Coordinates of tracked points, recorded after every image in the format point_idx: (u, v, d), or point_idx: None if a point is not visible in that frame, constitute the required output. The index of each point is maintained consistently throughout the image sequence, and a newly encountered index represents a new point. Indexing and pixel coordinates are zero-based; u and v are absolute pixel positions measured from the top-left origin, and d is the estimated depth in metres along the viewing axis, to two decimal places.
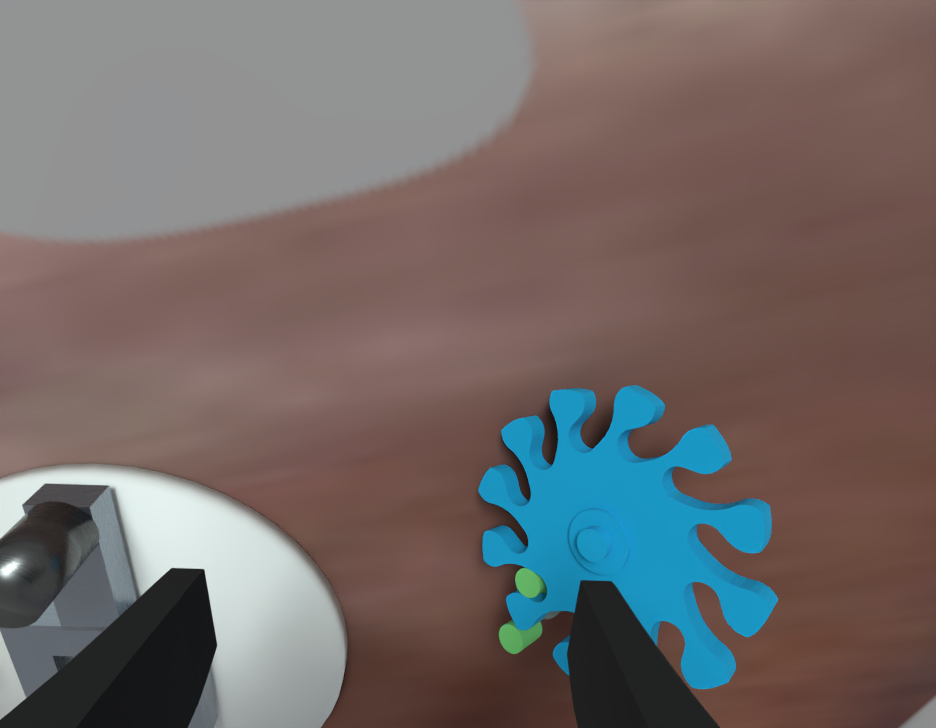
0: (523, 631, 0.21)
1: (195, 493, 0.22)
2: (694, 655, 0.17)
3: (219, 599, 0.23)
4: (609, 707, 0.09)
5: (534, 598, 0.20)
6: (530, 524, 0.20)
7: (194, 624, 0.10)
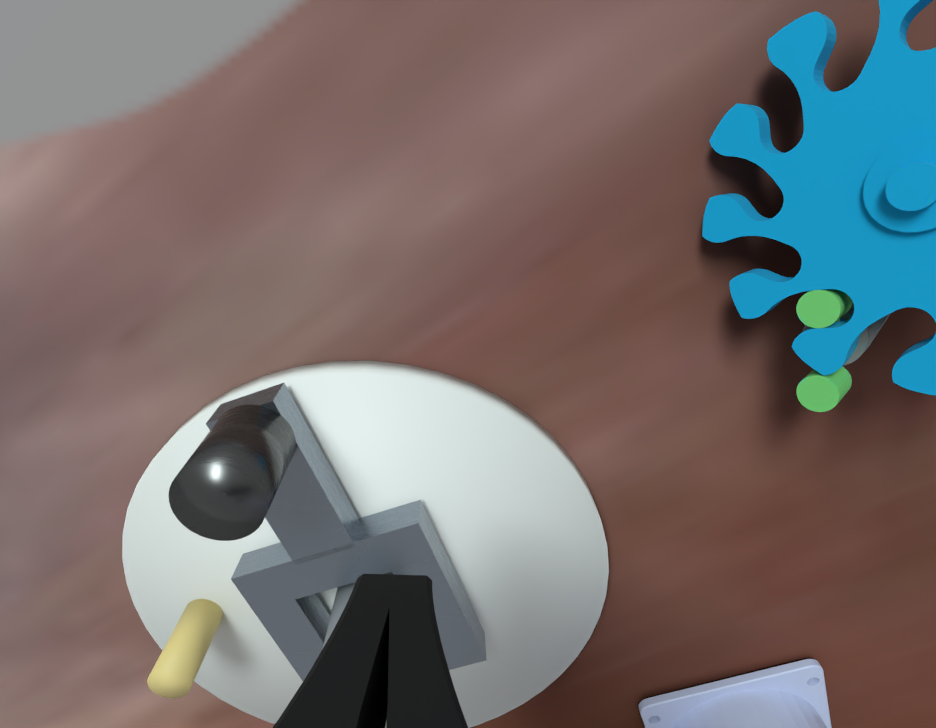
0: (832, 376, 0.16)
1: (374, 368, 0.19)
2: None
3: (441, 489, 0.20)
4: None
5: (834, 326, 0.15)
6: (796, 231, 0.15)
7: None
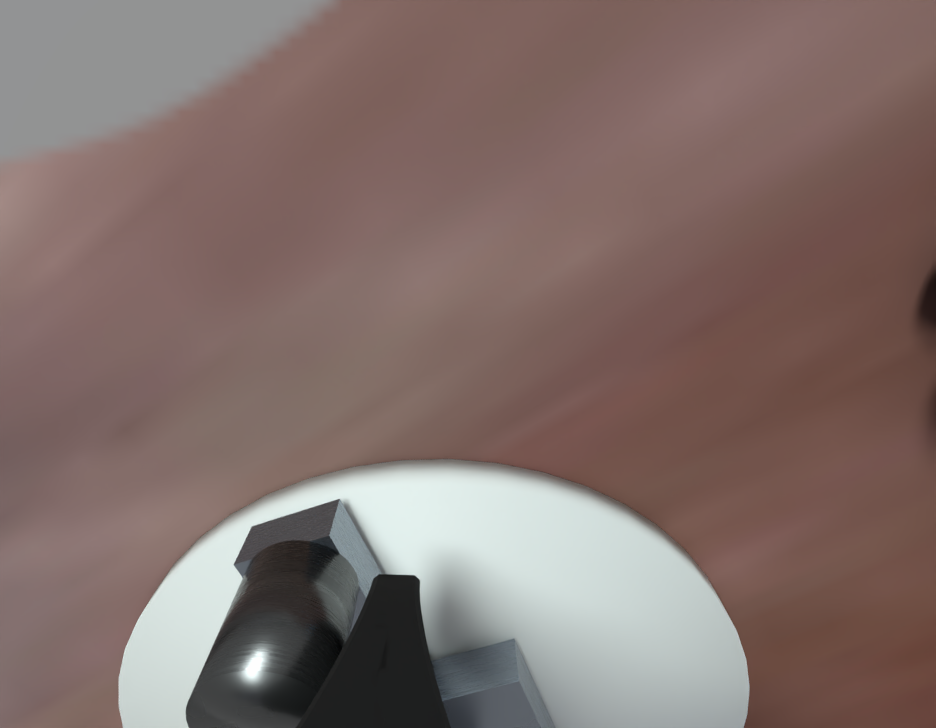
0: None
1: (460, 473, 0.14)
2: None
3: (541, 623, 0.15)
4: None
5: None
6: None
7: None
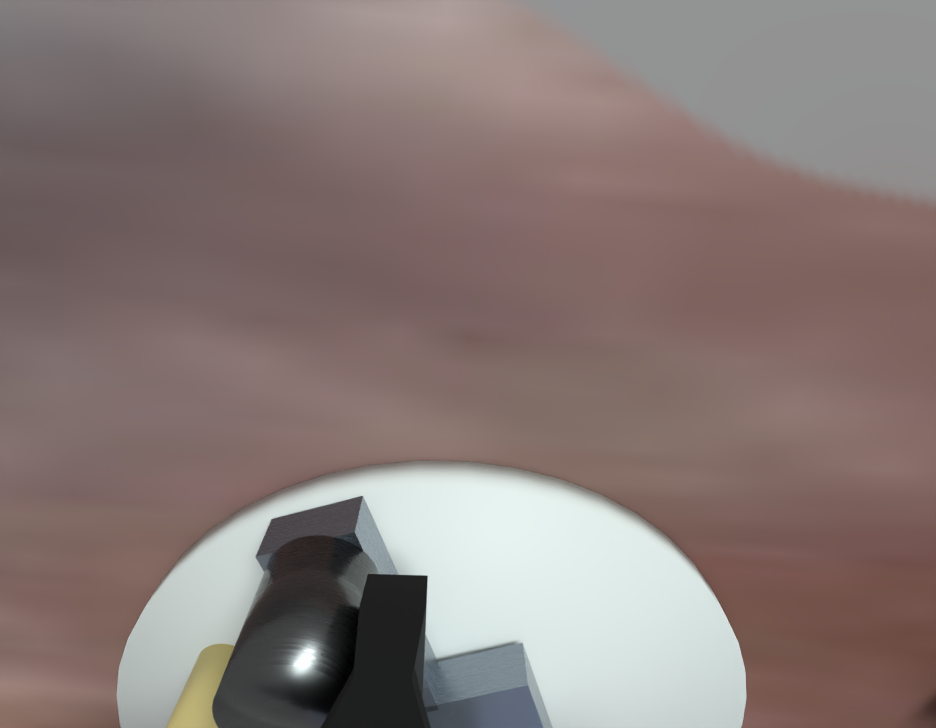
0: None
1: (679, 555, 0.15)
2: None
3: (613, 696, 0.16)
4: None
5: None
6: None
7: None
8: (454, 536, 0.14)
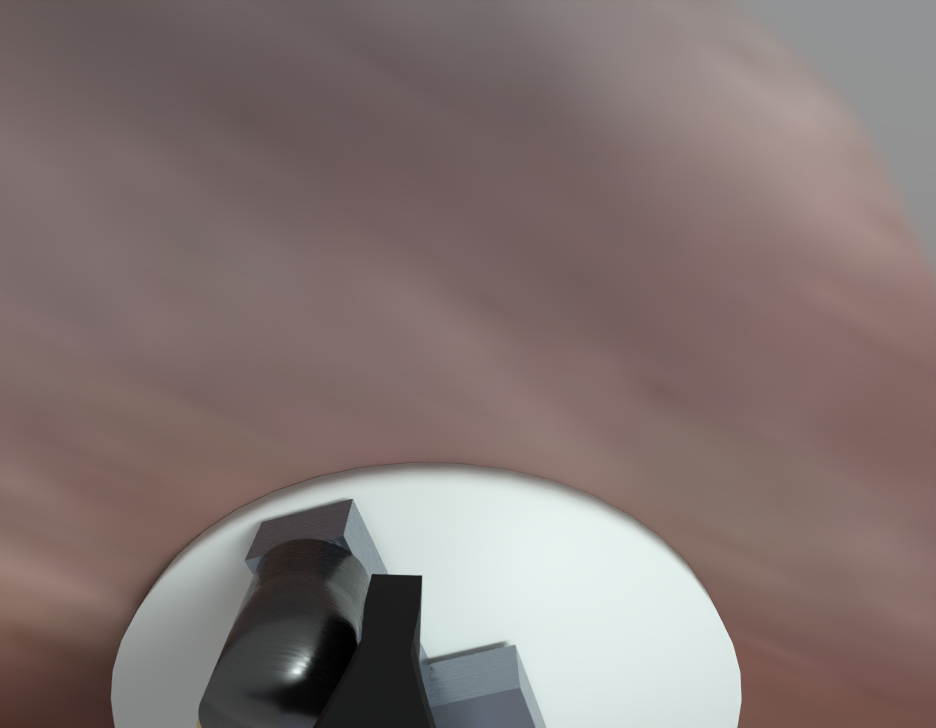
0: None
1: None
2: None
3: None
4: None
5: None
6: None
7: (419, 630, 0.10)
8: (562, 562, 0.14)
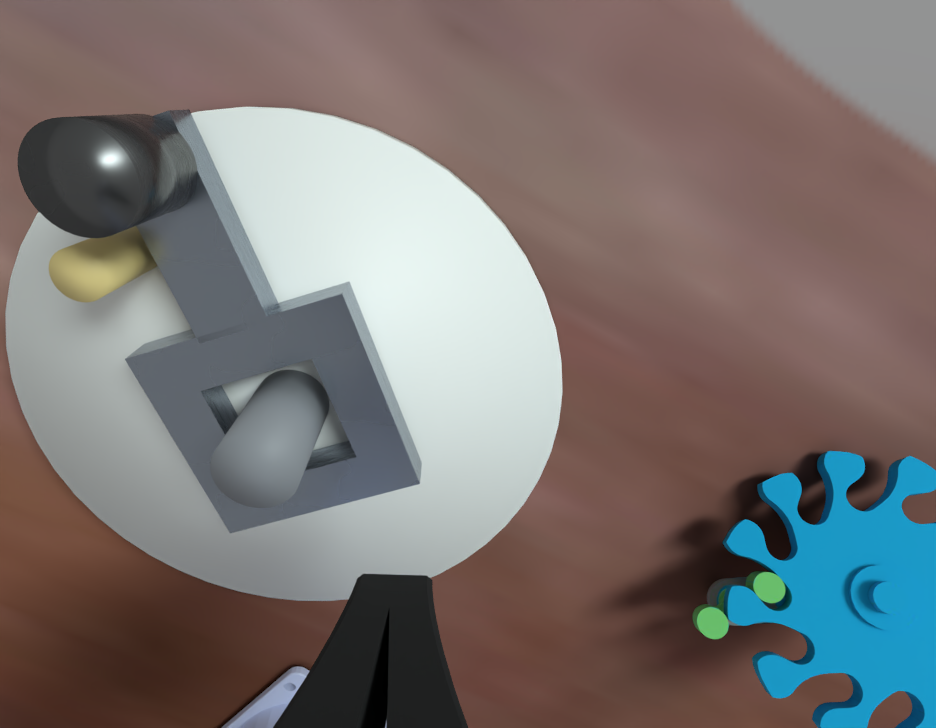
0: (727, 623, 0.20)
1: None
2: None
3: (451, 411, 0.20)
4: None
5: (762, 603, 0.20)
6: (808, 543, 0.20)
7: None
8: (383, 195, 0.17)
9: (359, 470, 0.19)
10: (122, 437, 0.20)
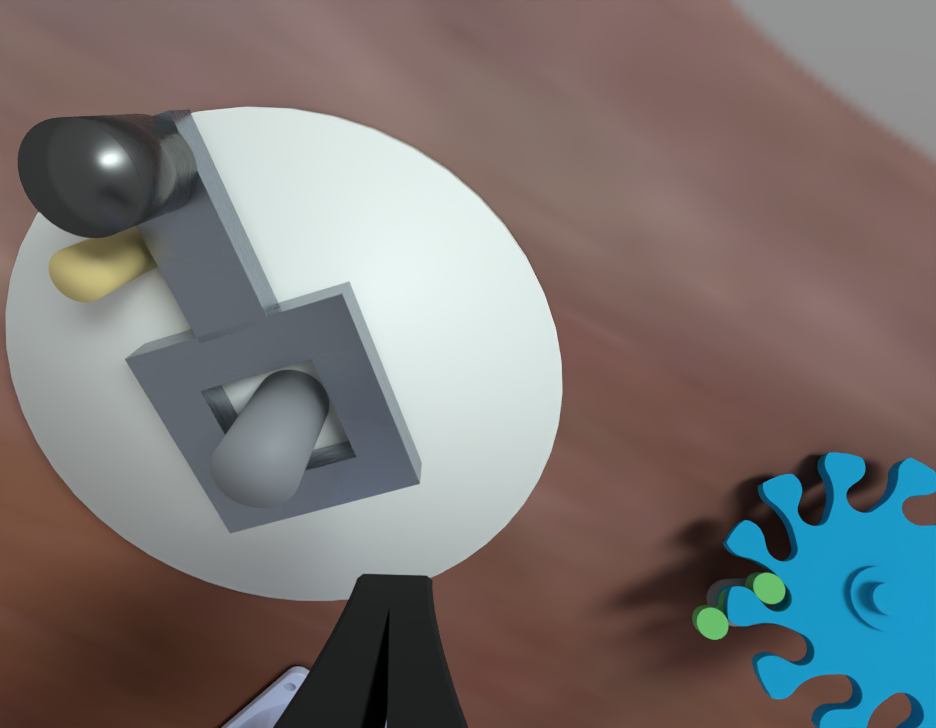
0: (727, 624, 0.20)
1: None
2: None
3: (451, 411, 0.20)
4: None
5: None
6: (809, 544, 0.20)
7: None
8: (383, 195, 0.17)
9: (359, 470, 0.19)
10: (122, 437, 0.20)
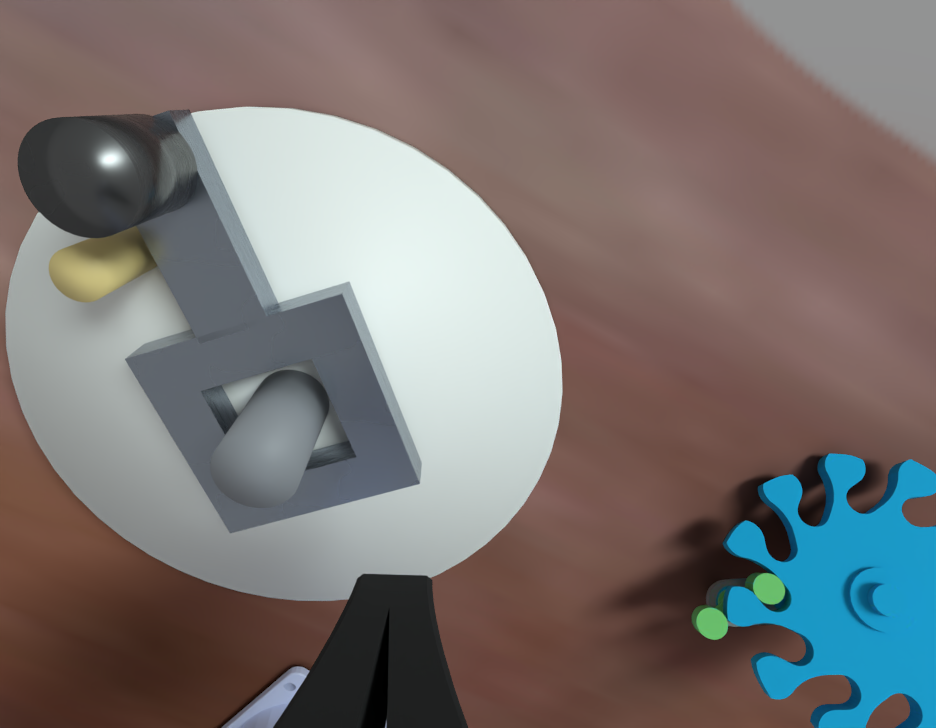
0: (726, 624, 0.20)
1: None
2: None
3: (451, 411, 0.20)
4: None
5: None
6: (808, 544, 0.20)
7: None
8: (383, 195, 0.17)
9: (359, 470, 0.19)
10: (122, 437, 0.20)
